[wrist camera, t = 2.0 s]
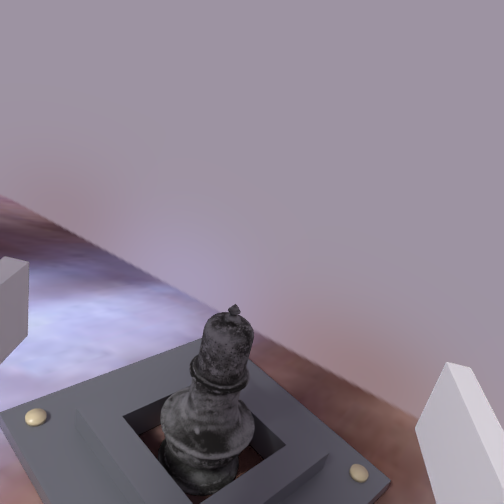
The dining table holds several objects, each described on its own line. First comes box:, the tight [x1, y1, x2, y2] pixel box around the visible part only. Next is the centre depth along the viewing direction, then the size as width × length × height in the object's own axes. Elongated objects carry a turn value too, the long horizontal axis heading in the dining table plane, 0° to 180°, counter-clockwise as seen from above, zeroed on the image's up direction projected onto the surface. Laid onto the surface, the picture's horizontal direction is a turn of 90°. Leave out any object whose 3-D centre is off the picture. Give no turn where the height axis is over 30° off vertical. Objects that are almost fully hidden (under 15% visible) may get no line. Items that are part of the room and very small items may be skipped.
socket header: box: [0, 338, 391, 504], centre depth 31 cm, size 18×18×2 cm
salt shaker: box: [158, 304, 255, 496], centre depth 29 cm, size 6×6×12 cm
